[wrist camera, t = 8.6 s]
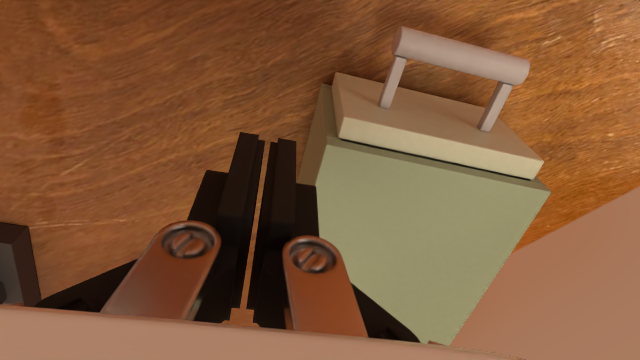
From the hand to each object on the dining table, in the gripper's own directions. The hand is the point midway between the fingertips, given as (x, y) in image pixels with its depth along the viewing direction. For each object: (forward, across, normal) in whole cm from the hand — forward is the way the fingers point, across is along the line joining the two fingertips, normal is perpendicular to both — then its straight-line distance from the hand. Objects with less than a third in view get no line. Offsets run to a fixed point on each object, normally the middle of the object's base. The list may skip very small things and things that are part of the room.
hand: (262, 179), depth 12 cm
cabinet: (+15, -9, +9) cm, 20 cm away
